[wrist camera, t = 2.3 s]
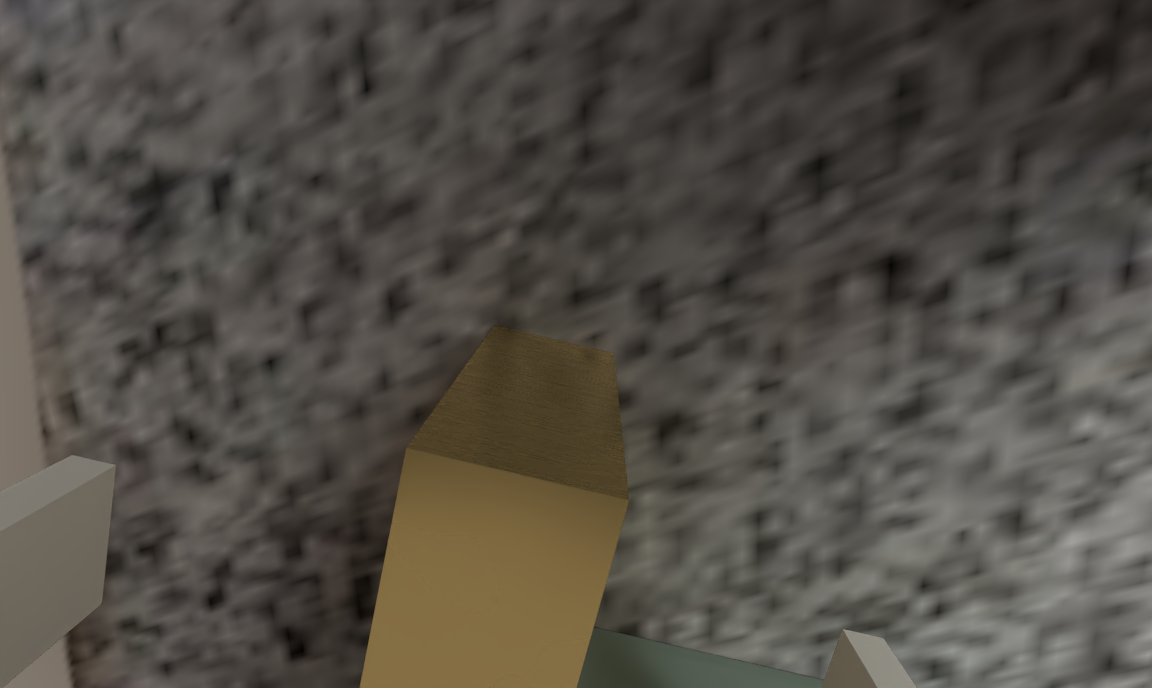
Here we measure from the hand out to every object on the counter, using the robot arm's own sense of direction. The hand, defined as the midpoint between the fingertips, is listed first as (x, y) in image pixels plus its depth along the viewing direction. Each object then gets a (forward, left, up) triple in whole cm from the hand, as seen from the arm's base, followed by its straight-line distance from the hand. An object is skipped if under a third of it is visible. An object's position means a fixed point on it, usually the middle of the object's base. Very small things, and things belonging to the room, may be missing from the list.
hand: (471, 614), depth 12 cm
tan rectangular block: (0, 0, -6) cm, 6 cm away
